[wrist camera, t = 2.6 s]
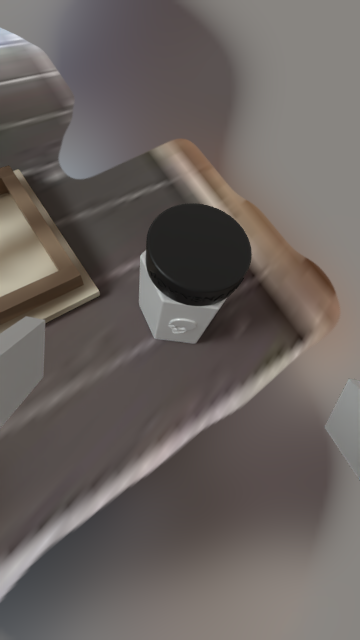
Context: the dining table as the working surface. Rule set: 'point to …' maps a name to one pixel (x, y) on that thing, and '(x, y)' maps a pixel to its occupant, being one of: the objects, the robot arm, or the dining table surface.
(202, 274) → the jar
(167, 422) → the dining table surface
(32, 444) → the dining table surface
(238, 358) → the dining table surface
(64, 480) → the dining table surface
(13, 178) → the jar stand
